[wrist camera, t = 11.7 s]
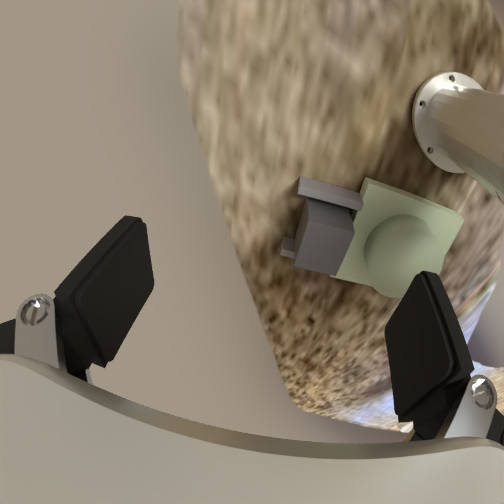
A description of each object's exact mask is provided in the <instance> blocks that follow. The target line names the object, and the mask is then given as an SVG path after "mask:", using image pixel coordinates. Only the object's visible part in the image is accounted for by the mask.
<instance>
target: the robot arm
mask: <svg viewBox="0 0 504 504" xmlns="http://www.w3.org/2000/svg"><path fill="white" fill-rule="evenodd" d="M449 77H450V80H449ZM420 101H421V103H422V104H421V105H419V103H420ZM412 125H413V130H414V134H415V137H416V140H417V143H418V144H419V146H420V148H421V150H422V151H423V153H424V154H425V155H426V157H427V158H428V159H429V160H430V161H432V162H433V163H434V164H435V165H436V166H438V167H439V168H441V169H443V170H445V171H448V172H452V173H465V172H466V173H467V174H468V175H469V176H471V177H472V178H473V179H474V180H476V181H477V182H478V183H479V184H480V185H482V186H483V187H484V188H485V189H486V190H487V191H489V192H490V193H491V194H492V195H493V196H494V197H495V198H496V199H498V200H499V201H500V202H501V203H502V204H503V205H504V95H502V94H498V93H494V92H490V91H485V90H483V88H482V87H481V86H480V85H479V84H478V83H477V82H476V81H474V80H473V79H472V78H470V77H468V76H466V75H464V74H461V73H457V72H440V73H437V74H435V75H433V76H431V77H430V78H428V79H427V80H426V81H425V82H424V83H423V84H422V85H421V87H420V88H419V90H418V92H417V94H416V96H415V99H414V102H413V109H412ZM428 147H429V149H428ZM427 149H428V150H427ZM153 287H154V277H153V271H152V264H151V257H150V251H149V244H148V235H147V227H146V224H145V223H143V221H142V219H141V218H139V217H133V216H124V217H123V218H122V219H121V220H120V221H119V222H118V223H117V224H116V225H115V226H114V227H113V228H112V229H111V230H110V231H109V232H108V233H107V234H106V235H105V236H104V237H103V238H102V239H101V240H100V241H99V242H98V243H97V244H96V245H95V246H94V247H93V248H92V249H91V250H90V251H89V253H88V254H87V255H86V256H85V257H84V258H83V259H82V260H81V261H80V262H79V264H78V265H77V266H76V267H75V268H74V269H73V270H72V271H71V272H70V274H69V275H68V276H67V277H66V278H65V279H64V281H63V282H62V283H61V284H60V285H59V287H58V288H57V289H56V290H55V291H54V293H55V295H56V297H55V298H54V299H53V300H52V298H51V297H50V296H48V295H46V294H36V295H33V296H31V297H29V298H28V299H26V300H25V301H24V302H23V303H22V304H21V305H20V307H19V309H18V311H17V315H16V319H13V320H10V321H7V322H4V323H1V324H0V504H504V416H503V415H502V414H501V413H500V412H499V411H498V410H497V409H496V405H497V393H496V389H495V387H494V385H493V383H492V382H491V381H490V380H489V379H488V378H487V377H485V376H483V375H475V376H473V377H472V378H471V376H470V373H471V372H472V371H473V370H474V366H473V363H472V359H471V356H470V353H469V350H468V347H467V344H466V341H465V338H464V336H463V333H462V330H461V327H460V325H459V322H458V320H457V317H456V314H455V312H454V309H453V307H452V305H451V302H450V300H449V298H448V295H447V293H446V291H445V289H444V286H443V284H442V282H441V280H440V278H439V276H438V274H437V273H433V272H429V271H421V272H420V273H419V274H416V275H415V277H414V279H413V280H412V282H411V284H410V286H409V288H408V289H407V291H406V293H405V295H404V296H403V298H402V300H401V302H400V303H399V305H398V307H397V308H396V310H395V312H394V313H393V315H392V316H391V318H390V320H389V321H388V323H387V324H386V327H385V339H386V345H387V352H388V358H389V365H390V373H391V381H392V389H393V399H394V410H395V413H396V415H398V421H399V423H403V422H412V421H413V428H412V430H411V431H410V433H409V434H408V436H407V437H406V439H405V440H404V441H403V442H397V443H375V444H345V443H323V442H309V441H298V440H288V439H281V438H273V437H266V436H260V435H254V434H248V433H242V432H238V431H233V430H228V429H223V428H219V427H214V426H210V425H206V424H203V423H199V422H195V421H191V420H188V419H184V418H181V417H177V416H174V415H171V414H167V413H164V412H161V411H158V410H155V409H152V408H149V407H146V406H144V405H141V404H138V403H135V402H133V401H130V400H127V399H125V398H122V397H120V396H117V395H115V394H113V393H110V392H108V391H106V390H103V389H101V388H98V387H96V386H94V385H93V384H92V380H91V376H90V371H89V367H90V365H91V364H92V363H94V364H96V365H99V366H101V367H103V368H105V367H106V365H107V363H108V361H109V362H110V361H112V360H113V359H114V357H115V355H116V354H117V352H118V350H119V348H120V346H121V344H122V343H123V340H124V339H125V337H126V335H127V333H128V332H129V330H130V328H131V326H132V325H133V323H134V321H135V319H136V318H137V316H138V314H139V312H140V311H141V309H142V307H143V305H144V304H145V302H146V300H147V299H148V297H149V295H150V294H151V292H152V290H153Z"/></svg>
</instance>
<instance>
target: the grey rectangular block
mask: <svg viewBox="0 0 504 504" xmlns="http://www.w3.org/2000/svg"><path fill="white" fill-rule="evenodd" d="M354 234H355V230H354V227H353V223H352V220H351V216H350V213H349V209H348V207H344V206H341V205H338V204H334V203H330V202H327V201H323V200H319V199H316V198H312V197H308V196H307V198H306V201H305V204H304V208H303V211H302V214H301V218H300V221H299V224H298V227H297V231H296V236H295V251H294V267H298V268H302V269H306V270H310V271H315V272H319V273H323V274H327V275H332V276H336V275H337V273H338V270H339V268H340V266H341V264H342V262H343V259H344V257H345V255H346V253H347V251H348V248H349V246H350V244H351V241H352V239H353V237H354Z"/></svg>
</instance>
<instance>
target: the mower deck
mask: <svg viewBox="0 0 504 504" xmlns="http://www.w3.org/2000/svg"><path fill="white" fill-rule="evenodd" d="M298 194H301V195H304V196H308V197H312V198H316V199H319V200H323V201H327V202H330V203H334V204H338V205H341V206H344V207H348V208H351V209H353V211H352V214H351V220H352V223H353V227H354V230H355V234H354V237H353V239H352V241H351V244H350V246H349V248H348V251H347V253H346V255H345V257H344V259H343V262H342V264H341V266H340V268H339V270H338V273H337V275H336V276H332V275H330V277H334V278H338V279H342V280H346V281H351V282H355V283H359V284H363V285H368V286H372V287H373V288H374V289H375V290H376V291H377V292H378V293H380V294H381V295H383V296H386V297H389V298H398V299H399V298H403V296H404V295H405V293H406V291H407V289H408V288H409V286H410V284H411V282H412V280H413V279H414V277H415V275H416V274H419V273H420V272H421V271H429V272H433V273H437V274H438V276H439V274H440V272H441V270H442V267H443V263H444V256H445V255H446V253H447V251H448V250H449V248H450V246H451V244H452V243H453V241H454V239H455V237H456V235H457V233H458V232H459V230H460V228H461V226H462V224H463V222H464V219H463V218H462V217H461V215H460V214H459V213H457V212H455V211H453V210H451V209H448V208H446V207H444V206H441V205H439V204H437V203H434V202H432V201H429V200H427V199H425V198H422V197H419V196H417V195H414V194H412V193H409V192H407V191H404V190H401V189H398V188H396V187H393V186H390V185H387V184H385V183H382V182H379V181H376V180H373V179H370V178H367V177H365V179H364V182H363V185H362V187H361V190H360V193H357V192H354V191H351V190H348V189H344V188H341V187H337V186H334V185H330V184H327V183H323V182H320V181H316V180H312V179H309V178H305V177H301V176H300V179H299V182H298ZM294 251H295V239H294V238H290V237H285V236H283V239H282V244H281V251H280V255H281V256H285V257H289V258H293V259H294Z"/></svg>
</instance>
